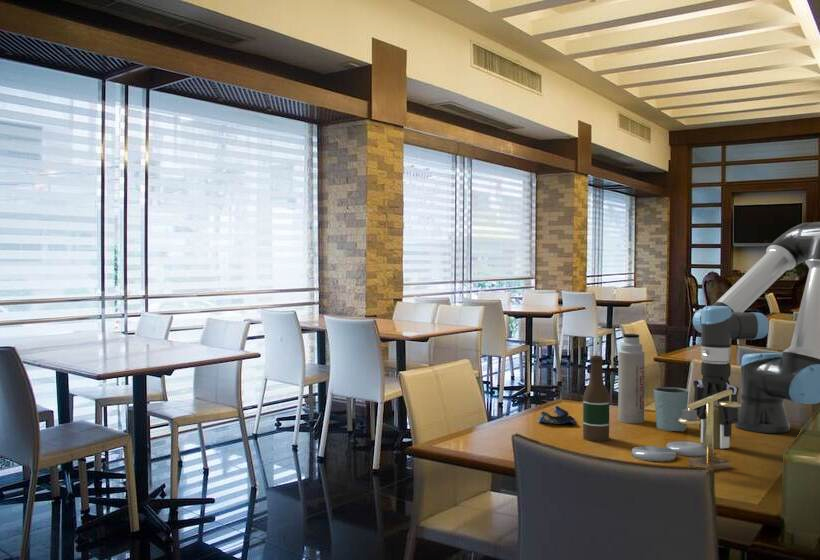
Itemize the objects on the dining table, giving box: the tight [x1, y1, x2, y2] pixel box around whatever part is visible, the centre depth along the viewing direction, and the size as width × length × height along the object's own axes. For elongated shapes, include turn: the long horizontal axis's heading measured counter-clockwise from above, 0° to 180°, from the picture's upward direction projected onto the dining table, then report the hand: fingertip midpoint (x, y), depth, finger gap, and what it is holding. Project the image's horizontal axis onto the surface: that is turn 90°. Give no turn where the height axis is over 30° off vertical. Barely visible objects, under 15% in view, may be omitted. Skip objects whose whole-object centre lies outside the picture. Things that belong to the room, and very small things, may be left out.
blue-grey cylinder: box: [653, 386, 689, 432], centre depth 216 cm, size 10×10×12 cm
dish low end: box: [631, 445, 677, 463], centre depth 185 cm, size 11×11×1 cm
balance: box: [679, 389, 741, 471], centre depth 175 cm, size 19×6×19 cm, turn 114°
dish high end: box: [666, 440, 706, 458], centre depth 190 cm, size 11×11×1 cm
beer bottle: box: [582, 354, 610, 443], centre depth 203 cm, size 8×8×24 cm
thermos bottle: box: [617, 333, 645, 424], centre depth 226 cm, size 8×8×28 cm
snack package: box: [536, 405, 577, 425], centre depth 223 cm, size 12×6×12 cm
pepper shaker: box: [703, 405, 723, 450], centre depth 195 cm, size 6×6×11 cm
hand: (714, 444), depth 195 cm, fingers closed on pepper shaker, 6 cm apart
